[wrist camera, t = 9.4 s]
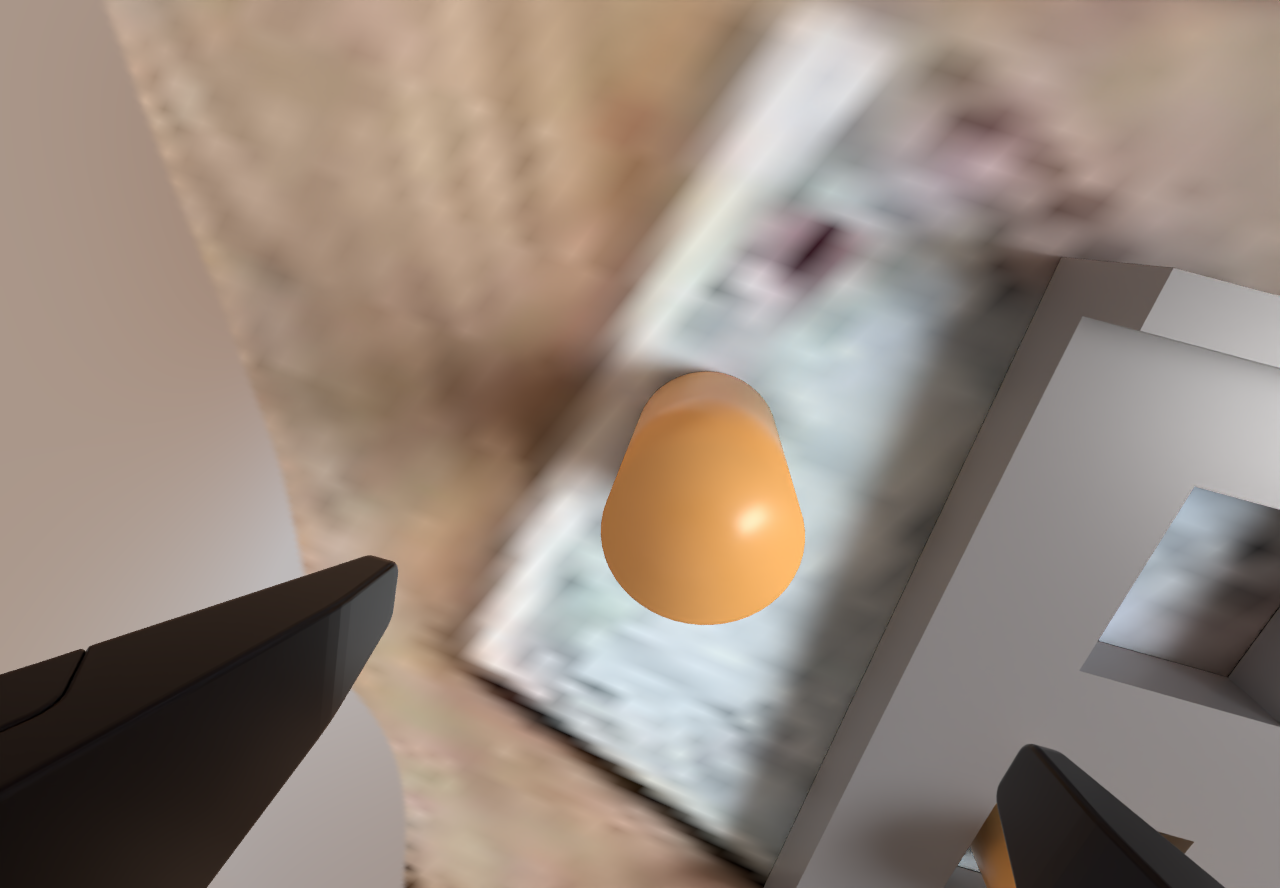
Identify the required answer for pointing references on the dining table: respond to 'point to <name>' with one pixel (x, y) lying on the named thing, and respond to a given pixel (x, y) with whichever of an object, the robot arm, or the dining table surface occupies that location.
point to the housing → (1071, 599)
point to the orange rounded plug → (704, 504)
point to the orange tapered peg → (993, 853)
